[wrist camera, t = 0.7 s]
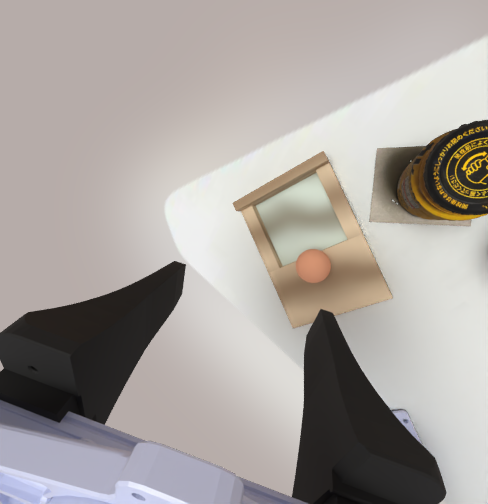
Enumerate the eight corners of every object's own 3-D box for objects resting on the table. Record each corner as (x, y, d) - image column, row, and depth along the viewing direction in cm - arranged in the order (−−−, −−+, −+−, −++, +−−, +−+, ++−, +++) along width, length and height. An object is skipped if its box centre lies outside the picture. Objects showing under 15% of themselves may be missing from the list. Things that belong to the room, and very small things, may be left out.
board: (391, 293, 28) (394, 302, 26) (296, 323, 33) (290, 333, 30) (326, 157, 29) (323, 150, 26) (243, 204, 34) (232, 203, 31)
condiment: (469, 226, 25) (552, 233, 14) (369, 221, 28) (373, 224, 17) (482, 143, 24) (582, 82, 13) (377, 149, 27) (386, 104, 16)
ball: (338, 272, 29) (335, 279, 25) (307, 283, 30) (301, 291, 27) (324, 242, 29) (319, 245, 26) (294, 254, 30) (286, 259, 27)
